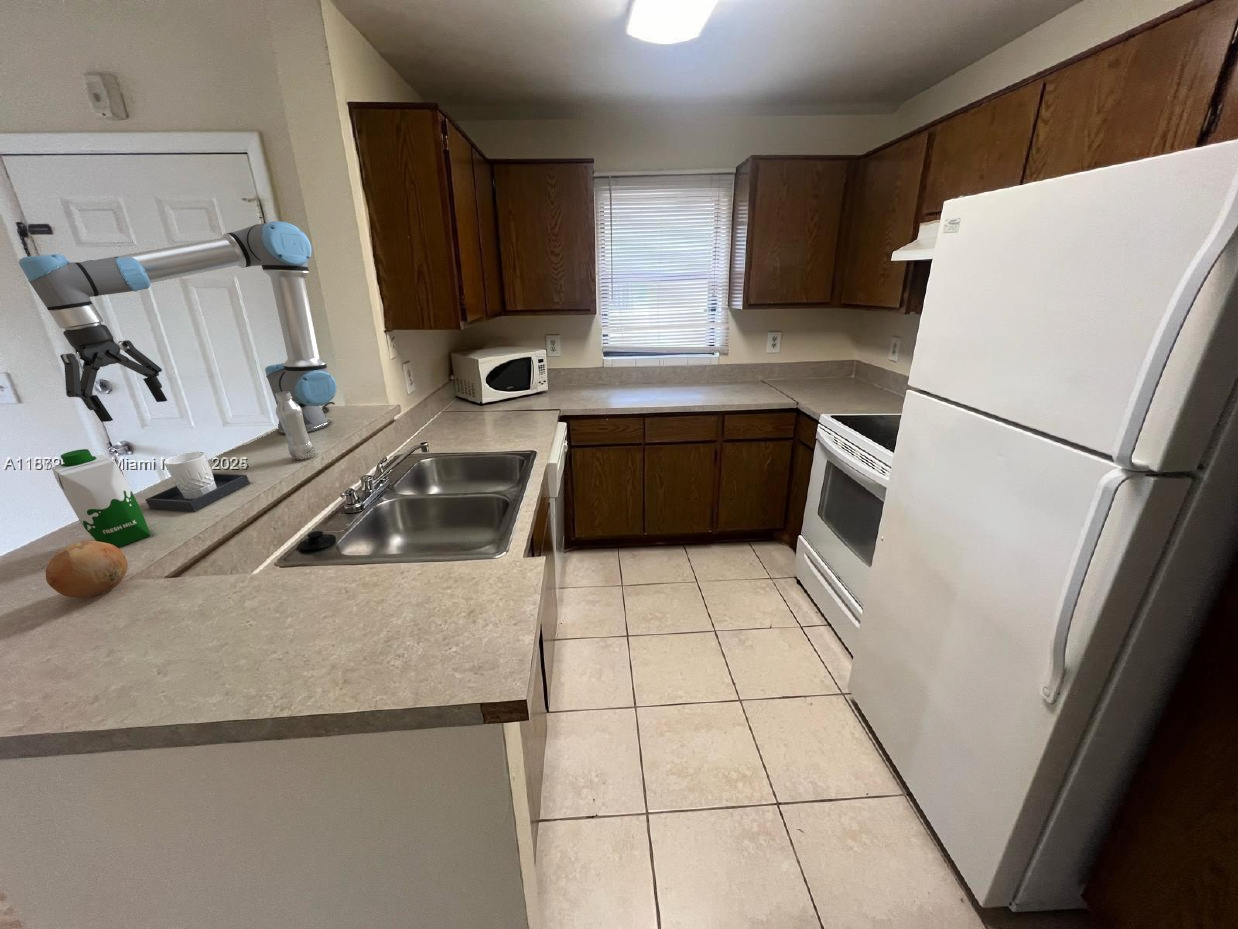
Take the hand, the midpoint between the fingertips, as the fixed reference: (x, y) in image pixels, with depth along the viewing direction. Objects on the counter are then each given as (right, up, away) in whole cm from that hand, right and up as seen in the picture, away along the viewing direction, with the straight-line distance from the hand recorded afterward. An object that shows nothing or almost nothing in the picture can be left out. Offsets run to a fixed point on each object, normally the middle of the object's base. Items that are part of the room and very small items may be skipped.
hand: (136, 410), depth 121 cm
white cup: (+17, -21, 0) cm, 27 cm away
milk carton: (+17, -30, -19) cm, 39 cm away
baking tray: (+17, -22, 0) cm, 28 cm away
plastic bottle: (+29, -12, +21) cm, 38 cm away
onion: (+29, -37, -35) cm, 59 cm away
